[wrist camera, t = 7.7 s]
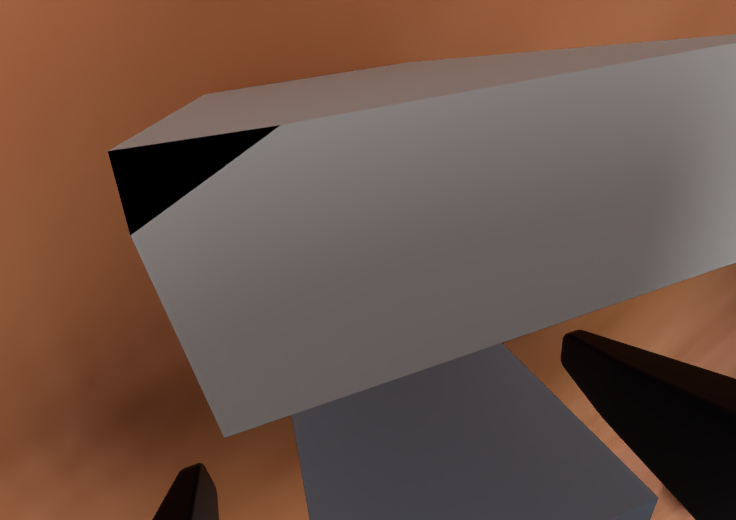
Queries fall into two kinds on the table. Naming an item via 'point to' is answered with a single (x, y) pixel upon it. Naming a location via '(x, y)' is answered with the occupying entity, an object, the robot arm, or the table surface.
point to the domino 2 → (461, 451)
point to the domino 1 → (426, 210)
